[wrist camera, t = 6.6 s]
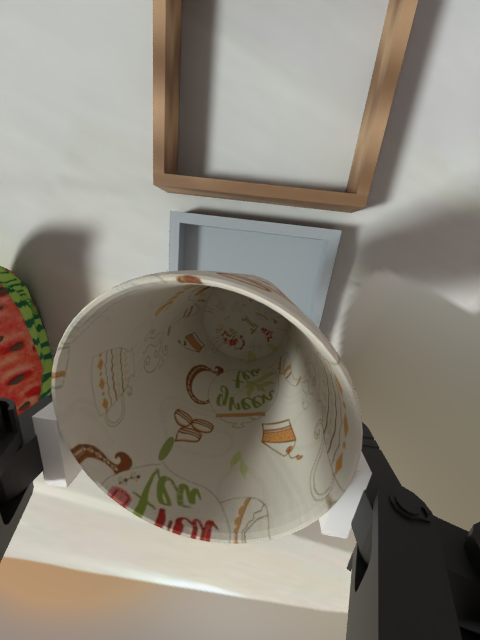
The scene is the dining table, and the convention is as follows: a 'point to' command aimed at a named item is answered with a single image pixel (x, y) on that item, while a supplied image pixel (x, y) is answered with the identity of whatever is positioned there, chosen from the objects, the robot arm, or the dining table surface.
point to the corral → (354, 199)
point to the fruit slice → (22, 346)
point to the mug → (208, 406)
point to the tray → (258, 254)
